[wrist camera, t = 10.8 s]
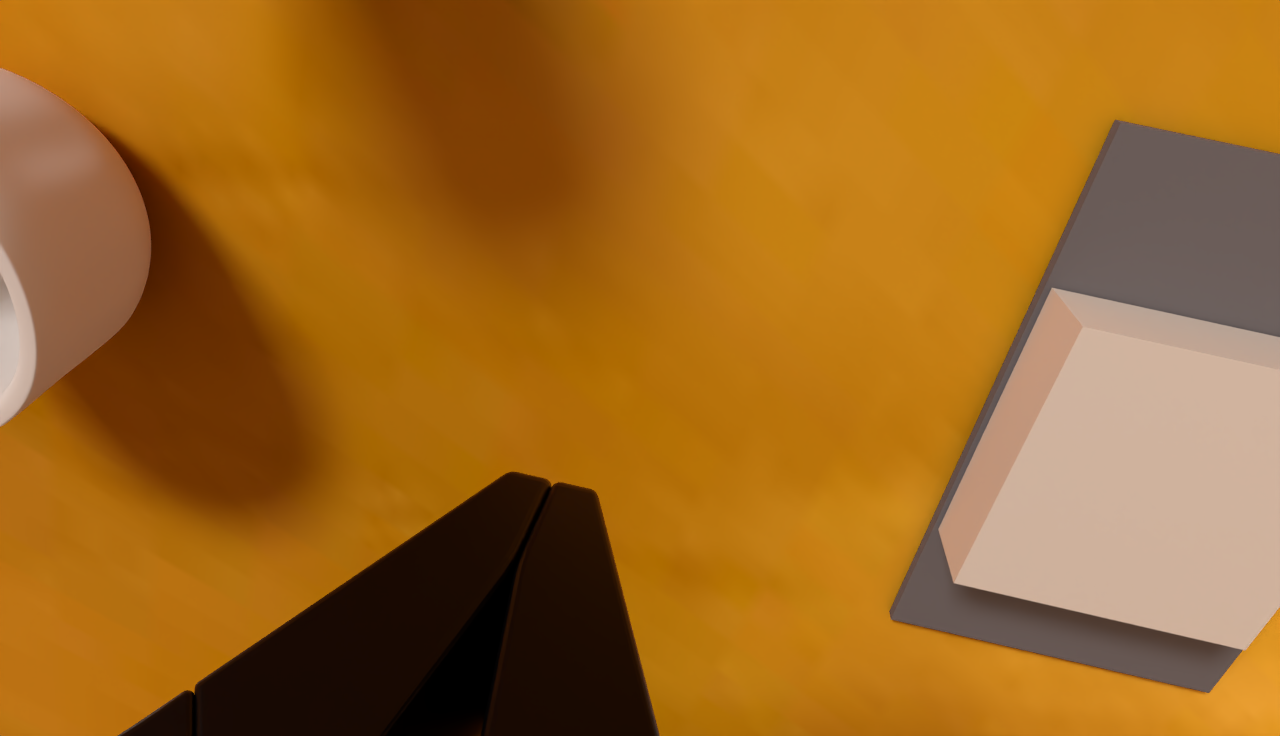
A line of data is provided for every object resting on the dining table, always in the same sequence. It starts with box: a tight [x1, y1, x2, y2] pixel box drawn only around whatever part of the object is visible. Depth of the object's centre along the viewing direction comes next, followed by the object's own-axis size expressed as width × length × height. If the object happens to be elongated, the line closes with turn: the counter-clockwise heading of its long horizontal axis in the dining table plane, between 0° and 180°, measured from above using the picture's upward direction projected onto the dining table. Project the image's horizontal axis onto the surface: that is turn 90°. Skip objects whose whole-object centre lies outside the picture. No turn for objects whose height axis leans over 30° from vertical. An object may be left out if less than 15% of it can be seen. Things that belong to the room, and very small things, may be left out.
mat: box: [890, 120, 1280, 693], centre depth 20 cm, size 14×9×1 cm, turn 170°
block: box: [938, 288, 1280, 650], centre depth 19 cm, size 7×2×7 cm
